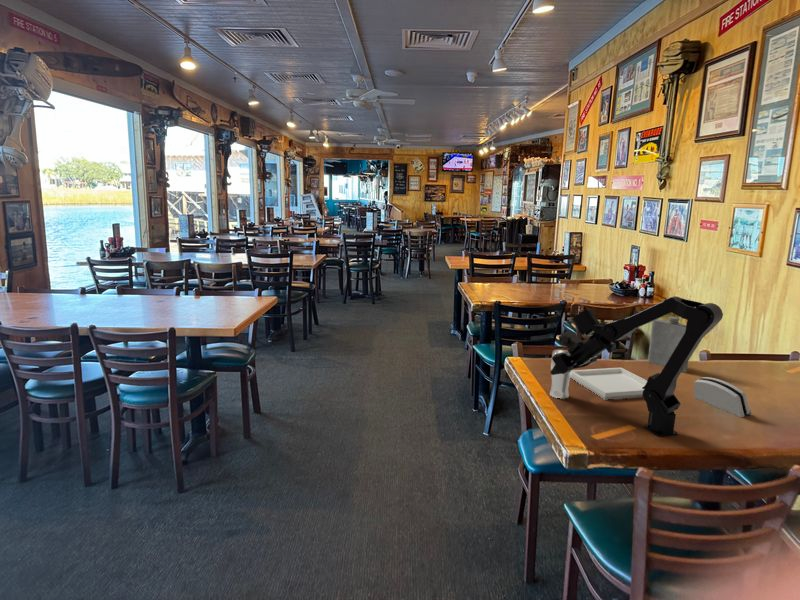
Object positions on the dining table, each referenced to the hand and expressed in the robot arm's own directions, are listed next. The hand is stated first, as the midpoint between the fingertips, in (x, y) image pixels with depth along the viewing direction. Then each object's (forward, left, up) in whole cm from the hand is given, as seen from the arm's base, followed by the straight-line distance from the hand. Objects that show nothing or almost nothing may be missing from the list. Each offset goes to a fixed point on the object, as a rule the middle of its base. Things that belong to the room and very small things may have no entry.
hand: (557, 371), depth 168 cm
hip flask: (+20, -61, -8) cm, 64 cm away
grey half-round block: (-18, -48, -8) cm, 52 cm away
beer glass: (-1, -1, -8) cm, 8 cm away
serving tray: (+4, -25, -8) cm, 26 cm away
